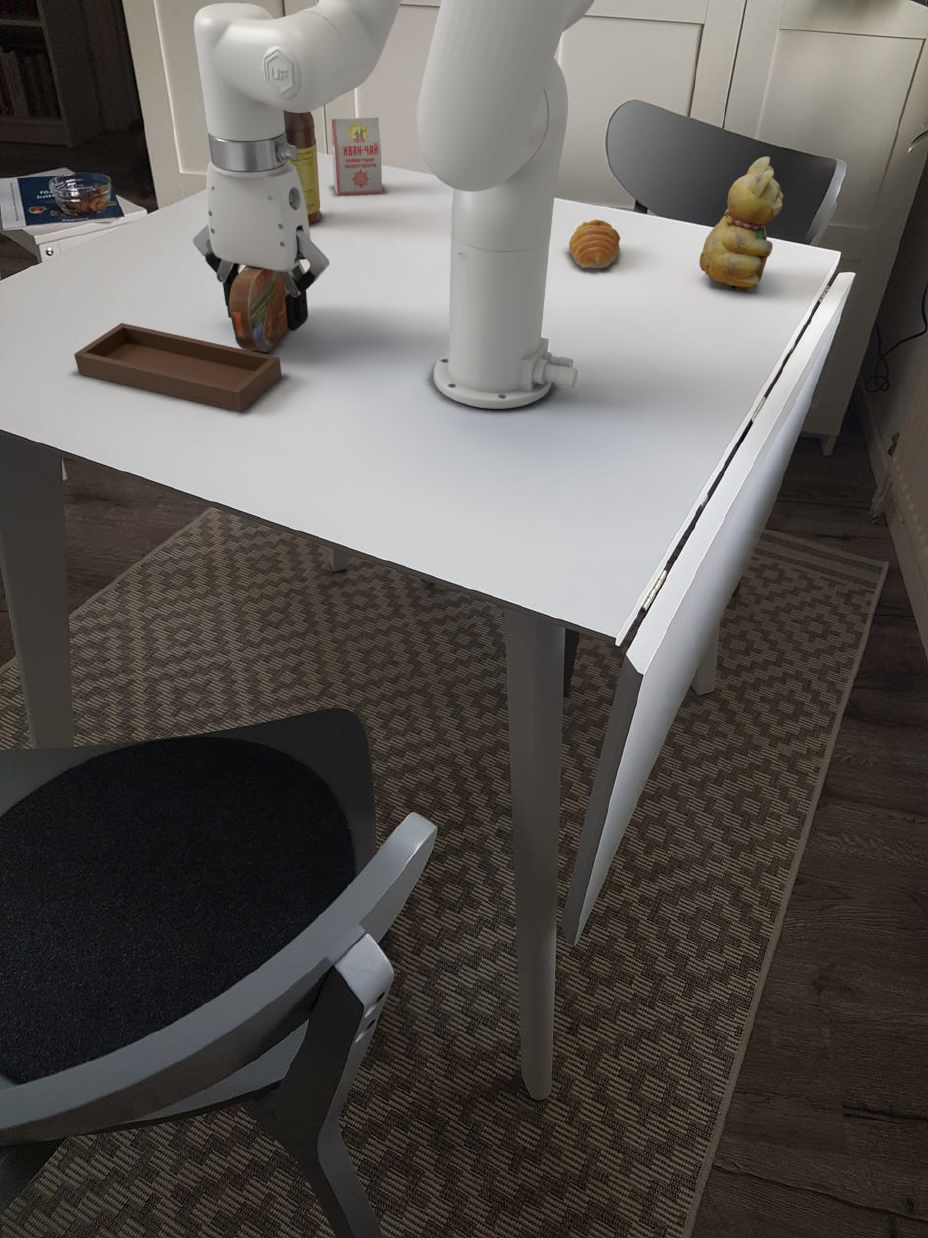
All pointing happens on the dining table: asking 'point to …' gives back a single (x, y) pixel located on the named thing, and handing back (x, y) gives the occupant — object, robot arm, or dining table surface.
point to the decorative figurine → (743, 230)
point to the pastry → (594, 244)
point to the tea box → (356, 156)
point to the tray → (180, 366)
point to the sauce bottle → (305, 158)
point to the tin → (258, 308)
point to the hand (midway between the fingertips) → (267, 318)
